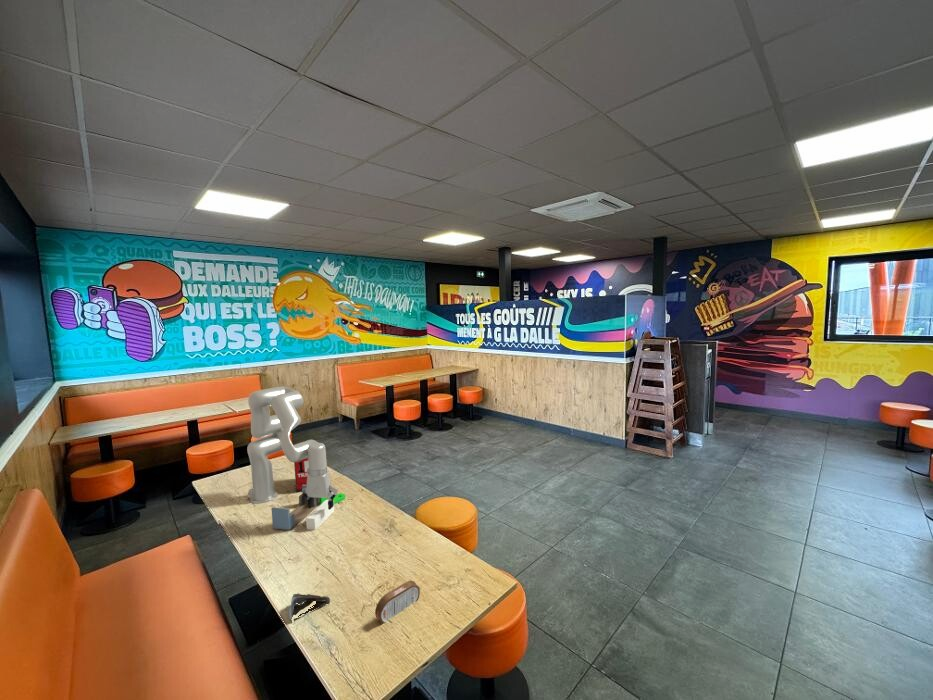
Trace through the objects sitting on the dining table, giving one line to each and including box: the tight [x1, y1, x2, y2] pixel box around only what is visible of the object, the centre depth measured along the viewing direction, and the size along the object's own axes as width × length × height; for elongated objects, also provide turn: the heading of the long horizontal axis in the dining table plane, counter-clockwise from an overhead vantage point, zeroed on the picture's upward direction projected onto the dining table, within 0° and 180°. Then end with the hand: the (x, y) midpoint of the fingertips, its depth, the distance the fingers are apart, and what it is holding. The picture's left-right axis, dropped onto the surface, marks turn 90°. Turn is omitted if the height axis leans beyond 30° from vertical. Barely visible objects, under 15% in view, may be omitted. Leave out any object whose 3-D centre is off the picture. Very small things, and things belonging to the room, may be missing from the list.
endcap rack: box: [272, 485, 320, 531], centre depth 173 cm, size 9×23×10 cm, turn 170°
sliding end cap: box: [271, 507, 295, 531], centre depth 164 cm, size 8×4×9 cm, turn 80°
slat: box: [305, 500, 335, 531], centre depth 169 cm, size 4×16×6 cm, turn 170°
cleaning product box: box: [293, 458, 309, 493], centre depth 205 cm, size 16×9×20 cm, turn 17°
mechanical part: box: [319, 492, 346, 506], centre depth 186 cm, size 12×6×8 cm, turn 142°
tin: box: [374, 580, 421, 624], centre depth 116 cm, size 15×3×8 cm, turn 133°
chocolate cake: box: [288, 592, 331, 619], centre depth 118 cm, size 10×7×12 cm
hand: (321, 507), depth 169 cm, fingers open, 9 cm apart
